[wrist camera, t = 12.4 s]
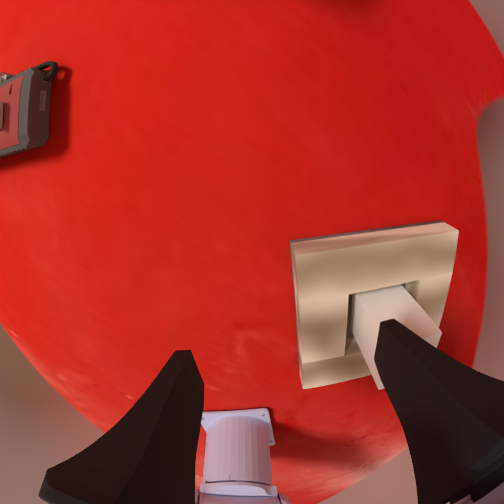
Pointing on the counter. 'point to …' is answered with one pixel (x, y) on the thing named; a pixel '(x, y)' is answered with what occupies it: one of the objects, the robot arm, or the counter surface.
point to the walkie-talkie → (25, 108)
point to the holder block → (362, 288)
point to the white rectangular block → (384, 308)
